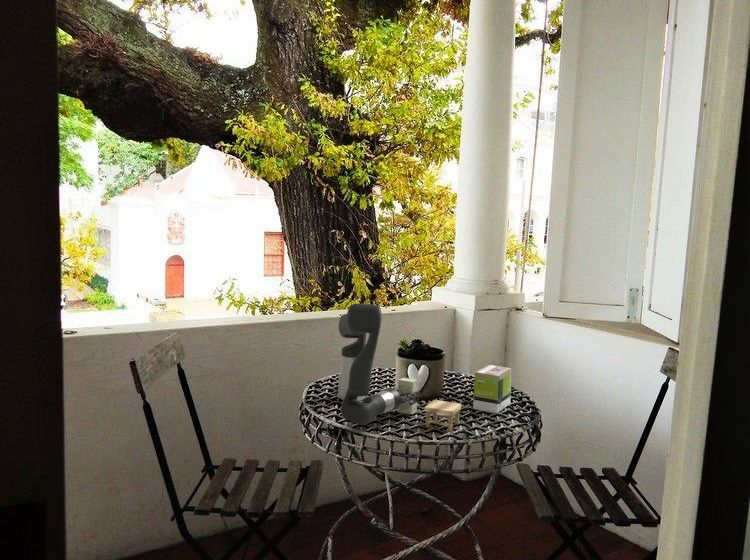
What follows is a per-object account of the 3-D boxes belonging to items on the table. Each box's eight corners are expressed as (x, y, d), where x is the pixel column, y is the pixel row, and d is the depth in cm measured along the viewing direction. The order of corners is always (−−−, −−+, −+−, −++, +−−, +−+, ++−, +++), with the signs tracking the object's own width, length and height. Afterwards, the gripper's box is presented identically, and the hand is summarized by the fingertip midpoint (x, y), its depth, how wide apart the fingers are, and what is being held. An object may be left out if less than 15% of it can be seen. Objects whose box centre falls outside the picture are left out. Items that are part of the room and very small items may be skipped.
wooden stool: (423, 426, 221) (424, 406, 220) (433, 418, 230) (434, 399, 229) (451, 431, 217) (452, 411, 216) (460, 423, 226) (461, 404, 225)
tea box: (486, 400, 256) (488, 363, 255) (510, 404, 251) (513, 367, 250) (472, 409, 244) (474, 370, 242) (497, 414, 238) (499, 375, 237)
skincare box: (417, 412, 236) (419, 379, 235) (411, 415, 232) (413, 382, 231) (401, 408, 239) (403, 376, 238) (396, 411, 236) (397, 379, 234)
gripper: (402, 395, 219) (428, 385, 233) (369, 387, 227) (395, 378, 241) (401, 416, 220) (427, 406, 233) (368, 407, 228) (394, 398, 242)
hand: (410, 392), depth 237 cm, fingers closed on skincare box, 6 cm apart
